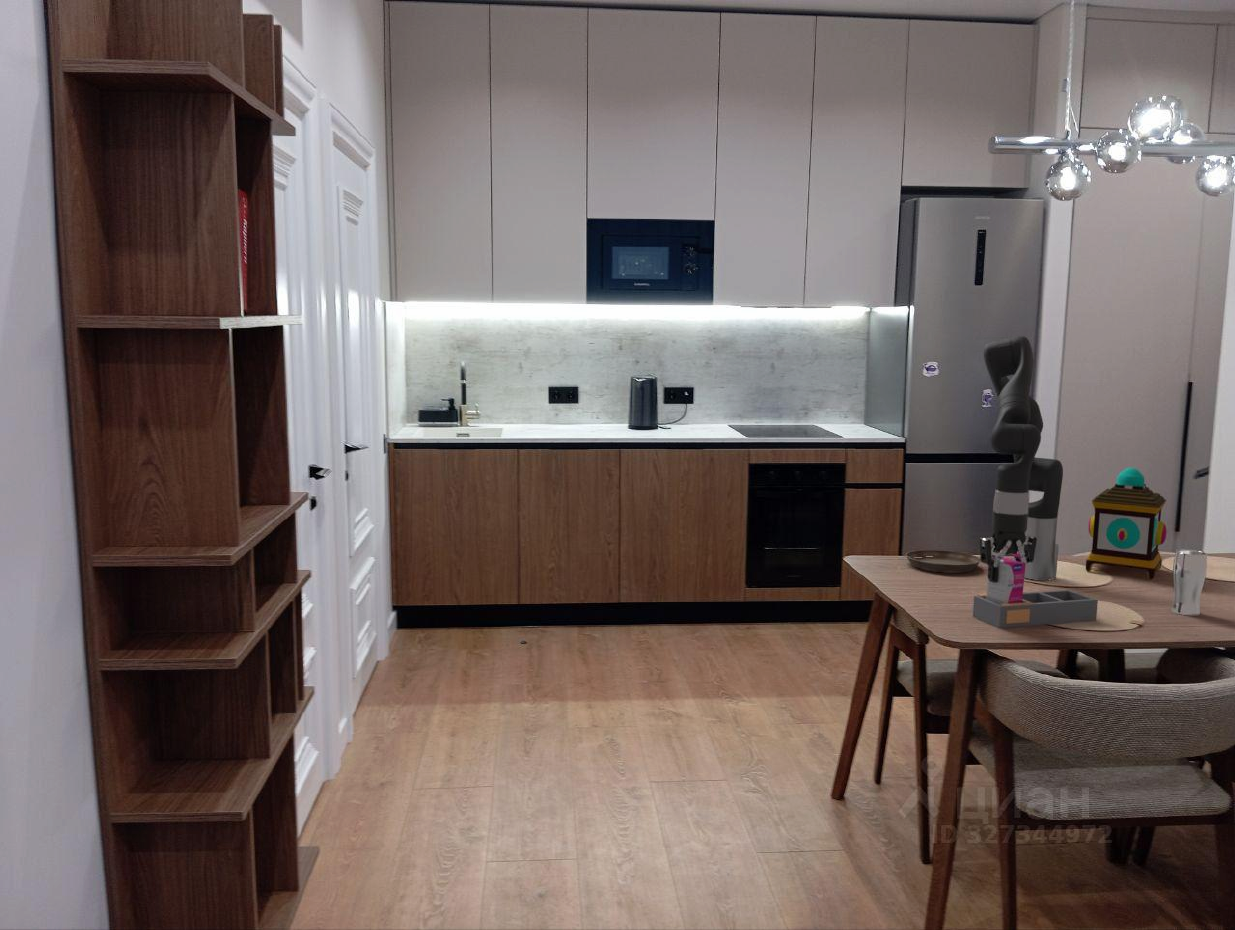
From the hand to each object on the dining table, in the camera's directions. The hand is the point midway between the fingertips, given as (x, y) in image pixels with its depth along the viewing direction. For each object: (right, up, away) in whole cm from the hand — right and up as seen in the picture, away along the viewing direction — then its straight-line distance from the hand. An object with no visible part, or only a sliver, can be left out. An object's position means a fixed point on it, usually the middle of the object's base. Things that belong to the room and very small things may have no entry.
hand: (1005, 580), depth 227 cm
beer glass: (+48, -9, +11) cm, 50 cm away
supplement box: (0, -7, +1) cm, 7 cm away
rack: (+8, -9, +3) cm, 13 cm away
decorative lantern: (+55, -4, +54) cm, 78 cm away
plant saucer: (+4, -3, +56) cm, 56 cm away
